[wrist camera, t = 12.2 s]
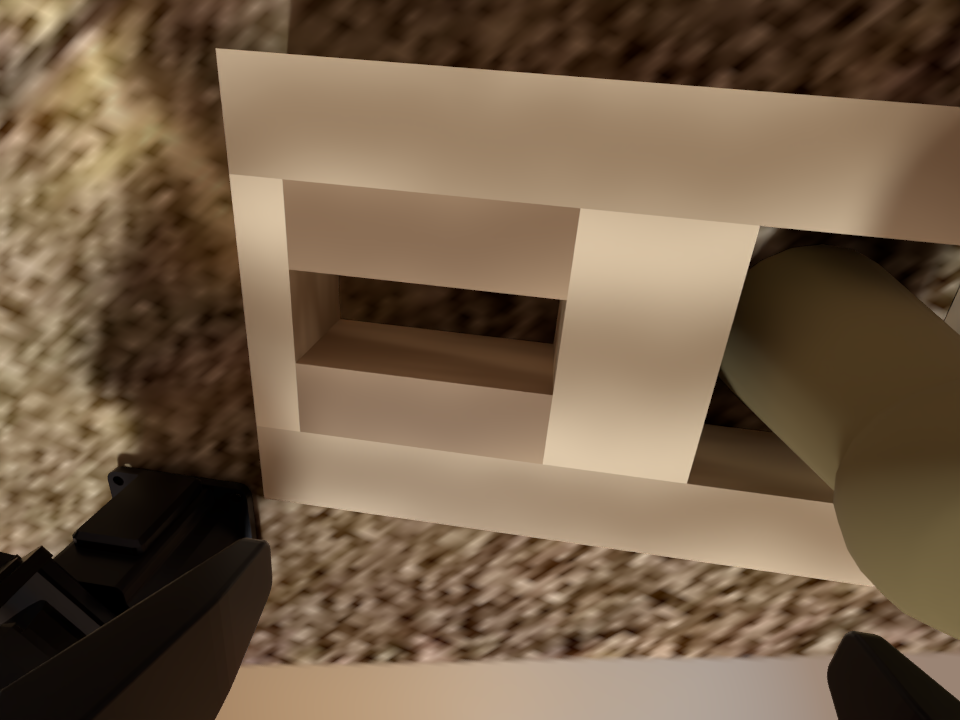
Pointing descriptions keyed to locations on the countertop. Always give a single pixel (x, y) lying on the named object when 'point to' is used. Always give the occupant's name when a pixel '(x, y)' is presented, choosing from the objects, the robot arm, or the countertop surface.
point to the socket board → (548, 291)
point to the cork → (862, 412)
